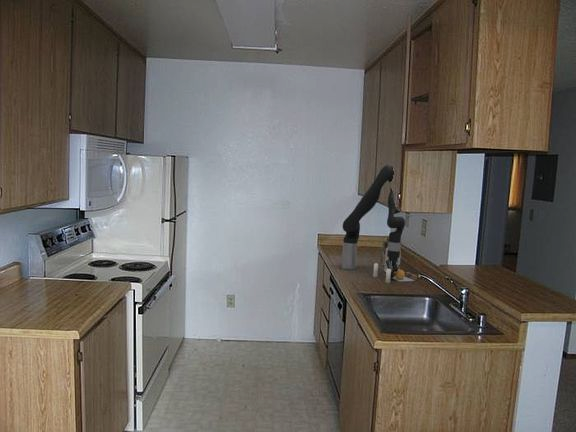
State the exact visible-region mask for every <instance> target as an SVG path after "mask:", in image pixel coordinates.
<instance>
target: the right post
mask: <svg viewBox="0 0 576 432" xmlns="http://www.w3.org/2000/svg"><path fill="white" fill-rule="evenodd" d="M390 277H391V269H387V270H386V272H385V283H386V284H390V283H391V278H390Z"/></svg>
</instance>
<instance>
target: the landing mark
mask: <svg viewBox="0 0 576 432" xmlns="http://www.w3.org/2000/svg"><path fill="white" fill-rule="evenodd" d="M391 279H393V280H395V281H397V282H415V281H414V280H412V279H410V278H407V277H405V276H404V278H403V279H397V278H396V277H395V276H394V278H391Z"/></svg>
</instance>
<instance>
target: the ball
mask: <svg viewBox="0 0 576 432" xmlns="http://www.w3.org/2000/svg"><path fill="white" fill-rule="evenodd" d="M404 276H405V271H404V270H403V269H399V270H397V271H396V272H395V274H394V277H396V278H397V279H403V278H404Z"/></svg>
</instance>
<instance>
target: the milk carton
mask: <svg viewBox="0 0 576 432" xmlns="http://www.w3.org/2000/svg"><path fill="white" fill-rule="evenodd" d="M387 250H388V247H387V248H386V254H385V266H384V269H383V271H384V272H385V273H386V270H387V269H388V267H387V264H386V261H388V258H389V257H387ZM401 252H402V250H401V249H400V257H399V258H398V264H400V265H401V254H402V253H401ZM400 268H401V266H400V267H399V268H398V270H400ZM395 272H396V271H395ZM395 272H394V275H395Z"/></svg>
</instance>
